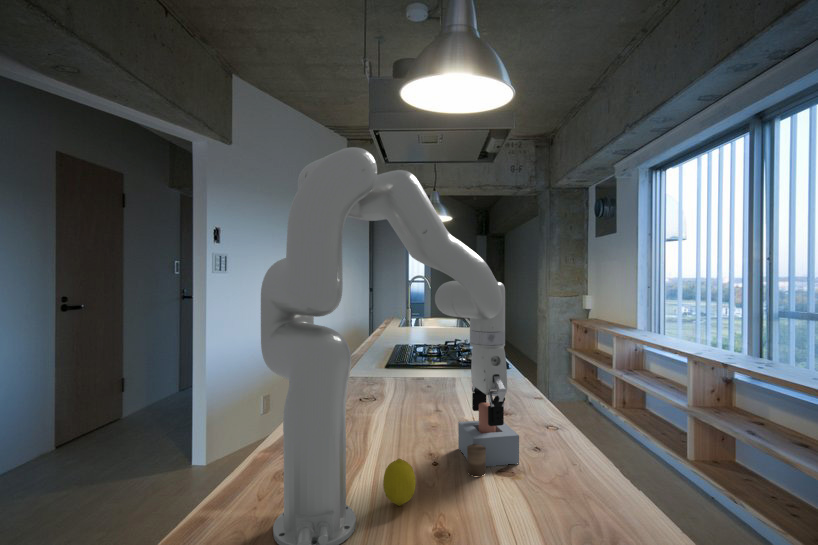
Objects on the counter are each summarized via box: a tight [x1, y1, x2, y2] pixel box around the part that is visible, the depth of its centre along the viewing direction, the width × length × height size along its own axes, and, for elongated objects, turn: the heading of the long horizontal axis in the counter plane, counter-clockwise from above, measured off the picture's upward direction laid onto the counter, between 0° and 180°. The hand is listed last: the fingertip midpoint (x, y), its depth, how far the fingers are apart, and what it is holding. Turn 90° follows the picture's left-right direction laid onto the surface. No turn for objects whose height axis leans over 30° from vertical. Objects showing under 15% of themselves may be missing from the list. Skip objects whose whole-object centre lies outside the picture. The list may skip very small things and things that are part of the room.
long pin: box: [478, 402, 496, 433], centre depth 95 cm, size 4×4×11 cm
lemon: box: [382, 458, 417, 507], centre depth 75 cm, size 6×6×8 cm
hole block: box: [457, 420, 520, 467], centre depth 95 cm, size 10×10×6 cm
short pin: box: [466, 444, 487, 476], centre depth 87 cm, size 4×4×5 cm
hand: (487, 417), depth 94 cm, fingers open, 9 cm apart
